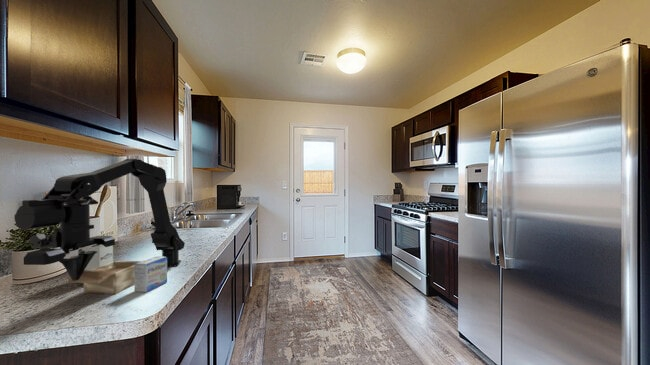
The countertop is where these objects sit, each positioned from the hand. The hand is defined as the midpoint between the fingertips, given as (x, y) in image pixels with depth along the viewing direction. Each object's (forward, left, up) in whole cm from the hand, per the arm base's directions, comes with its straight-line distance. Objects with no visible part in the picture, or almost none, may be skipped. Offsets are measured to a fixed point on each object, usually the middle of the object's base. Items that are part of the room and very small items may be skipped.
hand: (75, 280), depth 67 cm
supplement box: (-22, -6, -7) cm, 24 cm away
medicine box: (-7, +15, -7) cm, 18 cm away
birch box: (-12, +4, -7) cm, 14 cm away
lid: (-6, +2, -2) cm, 7 cm away
